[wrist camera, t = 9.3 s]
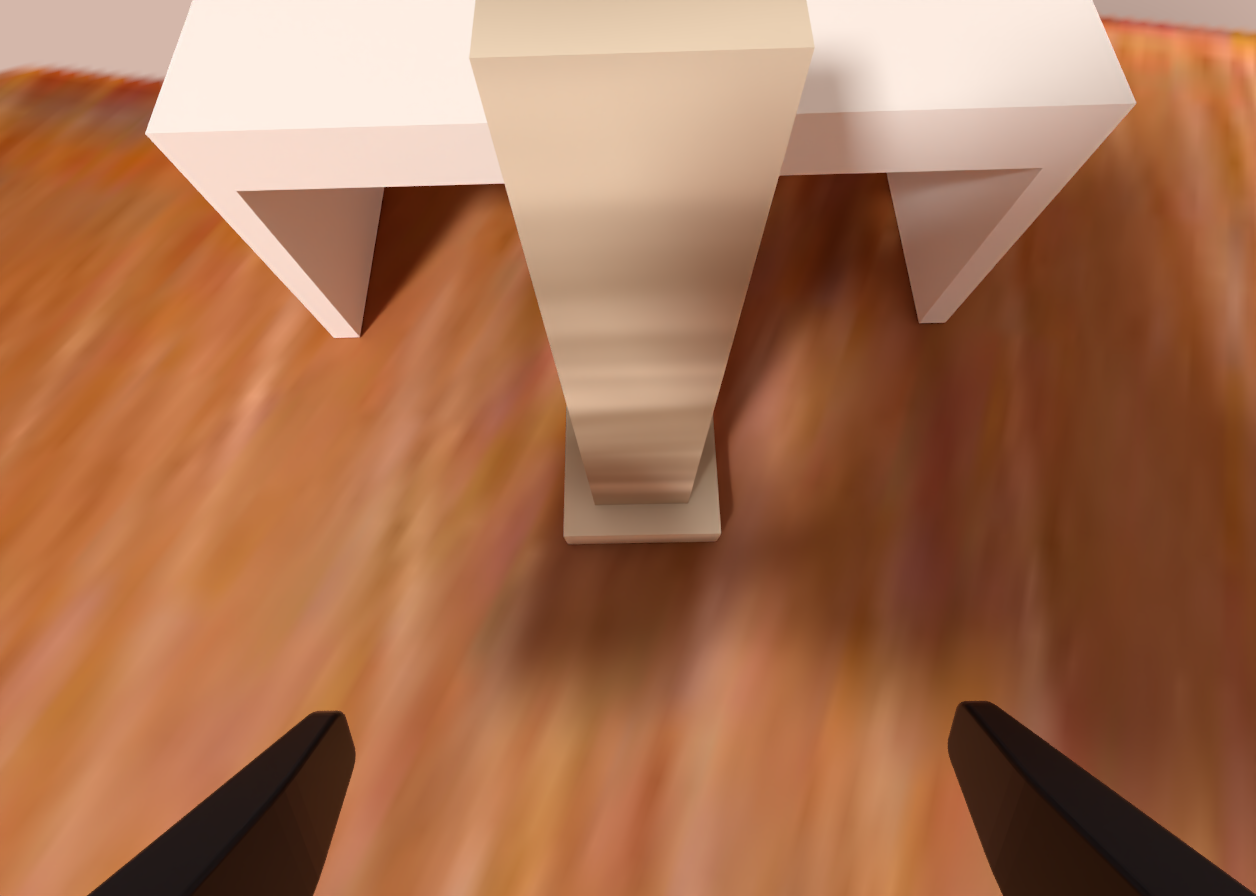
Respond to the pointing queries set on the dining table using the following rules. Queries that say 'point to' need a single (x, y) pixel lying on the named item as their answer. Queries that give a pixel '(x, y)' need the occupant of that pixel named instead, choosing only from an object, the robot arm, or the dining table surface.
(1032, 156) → the white footstool bench
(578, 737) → the dining table surface
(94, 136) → the dining table surface
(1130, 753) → the dining table surface
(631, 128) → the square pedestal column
